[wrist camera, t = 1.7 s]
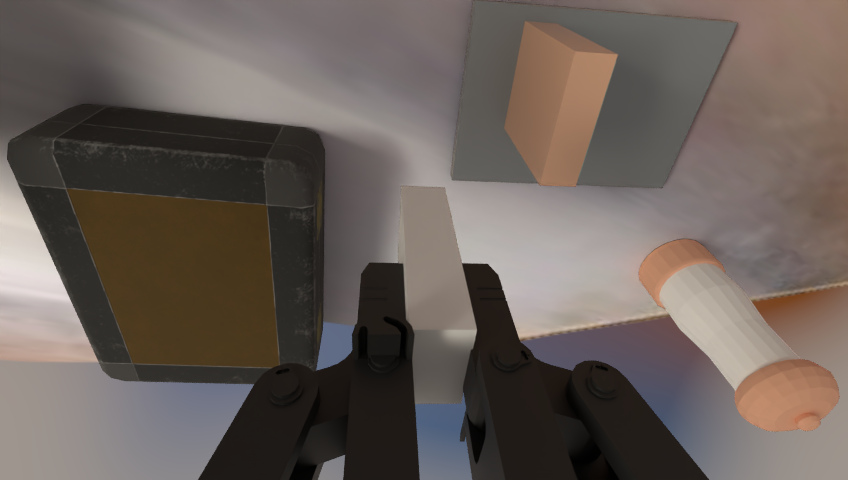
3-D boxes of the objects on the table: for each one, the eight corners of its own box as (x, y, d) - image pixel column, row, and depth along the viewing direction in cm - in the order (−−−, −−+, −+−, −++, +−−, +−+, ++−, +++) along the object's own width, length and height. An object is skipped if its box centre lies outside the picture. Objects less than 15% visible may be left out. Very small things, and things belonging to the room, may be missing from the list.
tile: (504, 127, 35) (539, 185, 27) (525, 20, 31) (575, 51, 23) (535, 129, 36) (579, 186, 27) (560, 23, 31) (622, 54, 23)
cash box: (56, 97, 33) (-23, 135, 26) (326, 126, 35) (313, 167, 29) (135, 324, 47) (96, 384, 40) (323, 332, 50) (314, 389, 43)
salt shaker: (628, 289, 49) (742, 454, 33) (654, 237, 45) (799, 398, 29) (686, 290, 50) (824, 452, 34) (717, 240, 45) (891, 398, 30)
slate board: (450, 175, 39) (451, 180, 38) (473, -1, 30) (475, 0, 30) (656, 183, 41) (662, 188, 40) (728, 20, 33) (737, 22, 32)
